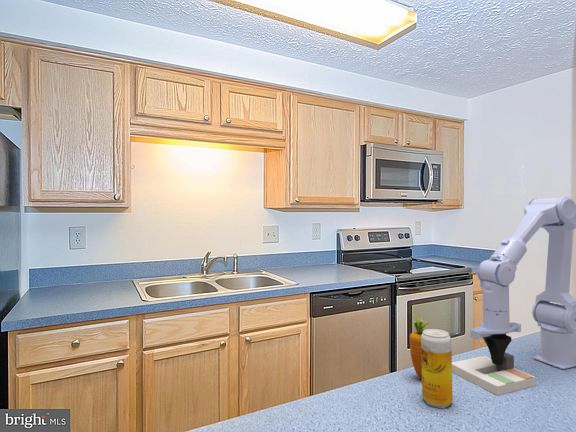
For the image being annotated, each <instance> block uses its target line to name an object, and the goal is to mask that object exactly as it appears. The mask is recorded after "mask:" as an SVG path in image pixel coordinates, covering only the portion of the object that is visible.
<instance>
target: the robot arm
mask: <svg viewBox="0 0 576 432" xmlns="http://www.w3.org/2000/svg"><path fill="white" fill-rule="evenodd" d="M523 212H524V217H523V218H522V220H521V221H520V223H519V224H518V226H517V228H516V229H515V231H514V232H513V234H512V236H511V237H505V238H503V239H502V240H501V242H500V244H499V245H498V246H497V247H496V250H494V252H493V253H492V254H491V256H490V258H489V259H486V260H483V261H482V262H481V263H479V264H478V267H477V270H476V272H475V273H476V276H477V277H476V278H477V279H478V280H479V284H480V285H479V286H480V288H481V290H482V321H483V322H480V325H479V326H477V327H475V328H471V329H470V338H472V339H475V340H477V341H478V340H481V339H483V342H484V343H485V344H486V346H487V349H488V352H489V354H490V358H491V360H492V363H494V364H497V365H499V366H500V365H502V362H503V357H504V354H505V352H506V351H507V348H508V346H509V345H510V343H511V342H512V341H513V340H512V336H511V335H508V334H510V333H515V332H517V333H522V324H521V323H517V322H511V321H510V320H511V319H510V285H511V284H512V283H513V282H514V280H515V277H516V271H517V268H518V267H517V265H519V263H520V261H521V260H522V259H523V258H524V256H525V255H526V253H527V251H528V249H527V243H528V242H529V241H530V240H531V239H532V238H533V236H534V235H535V234H536V233H537V232H538V231H539V229H540V228H541V229H544V230H545V231H546V233H548V245H547V260H546V271H545V272H546V273H545V287H544V291H542V292H541V293H539V294H537V295H535V301H534V304H533V306H532V310H531V314H532V317H533V320H534V321H535V322H536V323H537V327H539V328H540V355H535V356H533V357H532V358H533V360H537V361H539V362H543V364H548V365H550V366H553V367H555V368H557V369H562V370H566V369H570V368H575V367H576V298H575V297H574V296H572V295H571V294H570V289H571V288H570V287H571V273H572V257H573V243H574V230H576V203H575V201H574V200H573V198H571V197H570V196H563V197H549V198H548V197H546V198H545V197H544V198H530V199H529V200H528V202H527V203H526V205H525V206H524V207H523Z"/></svg>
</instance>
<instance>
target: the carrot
mask: <svg viewBox="0 0 576 432" xmlns="http://www.w3.org/2000/svg"><path fill="white" fill-rule="evenodd" d="M413 323H414V327H415V330H416V331H414V332H411V333H410V334H409V349H410V350H409V353H410V357H411V362H412V367H413V369H414V372H415V373H416V376H417V378H418V379H419V380H422V360H421V335H422V333H423V331H424V330H426V328H425V327H426V326H427V325H428V324H429V321H426V322H424V320H423V319H419V317H418V318H415V321H413Z"/></svg>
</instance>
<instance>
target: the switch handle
mask: <svg viewBox="0 0 576 432" xmlns="http://www.w3.org/2000/svg"><path fill="white" fill-rule="evenodd" d="M493 364H494V363H493ZM495 365H497V364H495ZM511 368H515V356H514V354H510V353H508V352H506V351H505V354H504V357H503V362H502V365H500V366H499V365H497V372H498V371H502V370H507V369H511Z"/></svg>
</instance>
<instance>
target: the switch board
mask: <svg viewBox="0 0 576 432" xmlns="http://www.w3.org/2000/svg"><path fill="white" fill-rule="evenodd" d="M453 373H454V374H455V375H458V376H459V377H460V378H463V379H465V380H466V381H469V382H471V383H473V384H475V385H476V386H479V387H480V388H482V389H484V390H486V391H488V392H490V393H492V394H494V395H496V396H501V395H505V394H508V393H512V392H516V391H519V390H524V389H528V388H531V387H536V385H537V383H536V376H534V375H531V374H529V373H526V372H525V371H523V370H519V369H517V368H515V367H514V368H511V369H507V370H502V371H498V372H497V365H495V364H493V363H492V360H491V357H489V356H486V355H482V356H476V357H471V358H467V359H463V360H457V361H453V362H452V374H453Z"/></svg>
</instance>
